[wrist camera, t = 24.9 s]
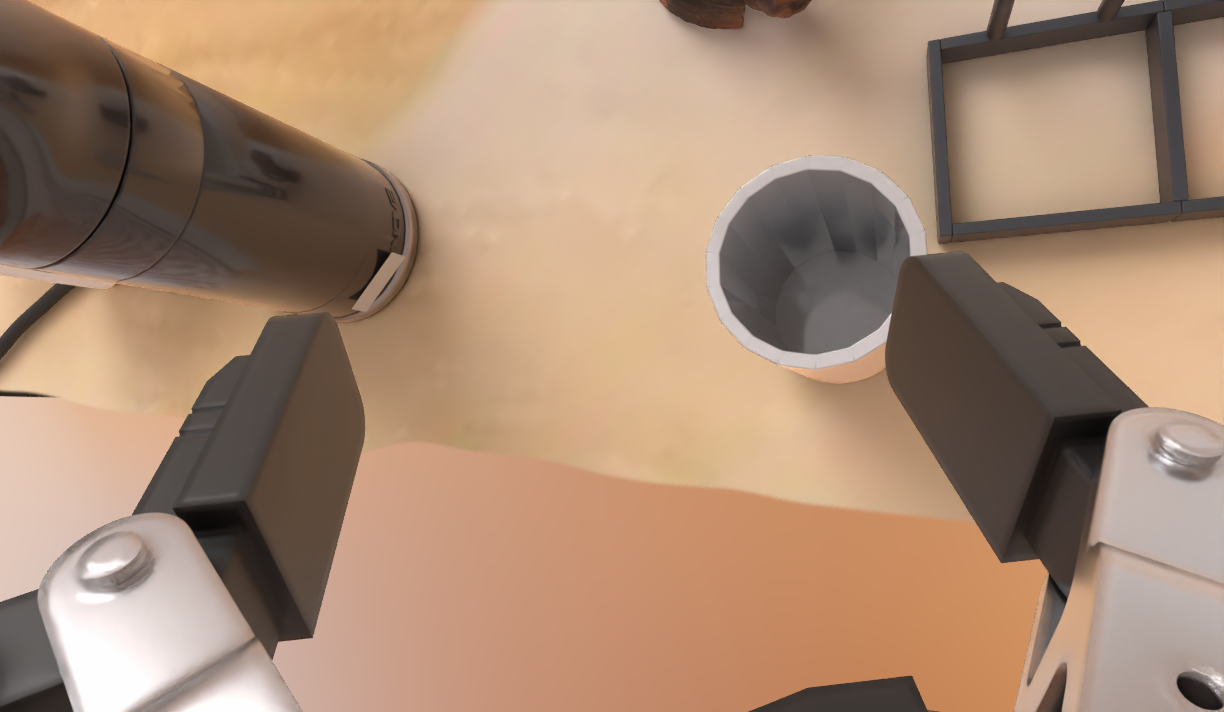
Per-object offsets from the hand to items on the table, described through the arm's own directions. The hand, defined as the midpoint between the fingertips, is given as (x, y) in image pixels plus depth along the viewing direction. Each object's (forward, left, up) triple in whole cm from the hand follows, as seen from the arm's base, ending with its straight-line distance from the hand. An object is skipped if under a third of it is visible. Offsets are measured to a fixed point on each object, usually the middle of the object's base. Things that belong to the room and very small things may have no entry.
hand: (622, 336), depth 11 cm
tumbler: (+2, +3, -26) cm, 26 cm away
